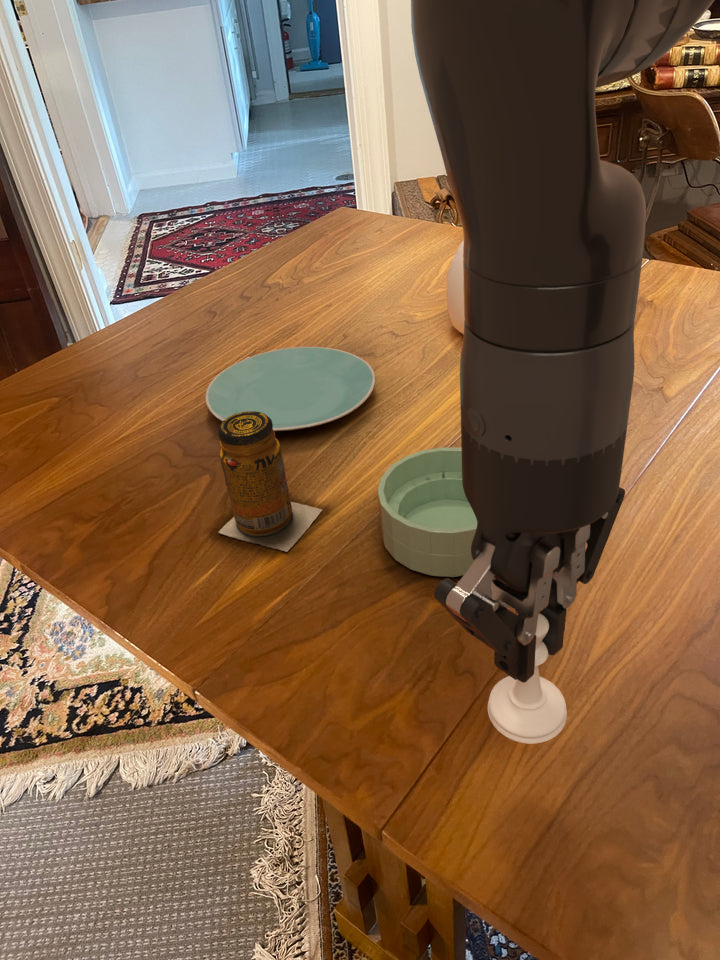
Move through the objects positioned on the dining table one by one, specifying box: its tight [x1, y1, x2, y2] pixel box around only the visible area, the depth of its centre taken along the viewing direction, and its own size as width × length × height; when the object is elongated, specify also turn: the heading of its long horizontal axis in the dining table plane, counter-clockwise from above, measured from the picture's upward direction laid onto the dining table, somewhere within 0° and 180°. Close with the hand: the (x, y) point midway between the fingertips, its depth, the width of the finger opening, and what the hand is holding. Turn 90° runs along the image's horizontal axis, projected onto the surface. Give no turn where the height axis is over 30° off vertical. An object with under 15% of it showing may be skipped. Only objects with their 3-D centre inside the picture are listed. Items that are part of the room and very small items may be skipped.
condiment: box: [217, 411, 323, 553], centre depth 73 cm, size 7×8×12 cm
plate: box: [204, 346, 376, 432], centre depth 96 cm, size 22×22×3 cm
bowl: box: [376, 446, 477, 578], centre depth 71 cm, size 13×13×6 cm
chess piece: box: [487, 613, 568, 745], centre depth 44 cm, size 5×5×10 cm
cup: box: [445, 239, 465, 336], centre depth 104 cm, size 13×13×14 cm
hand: (529, 657), depth 44 cm, fingers closed on chess piece
